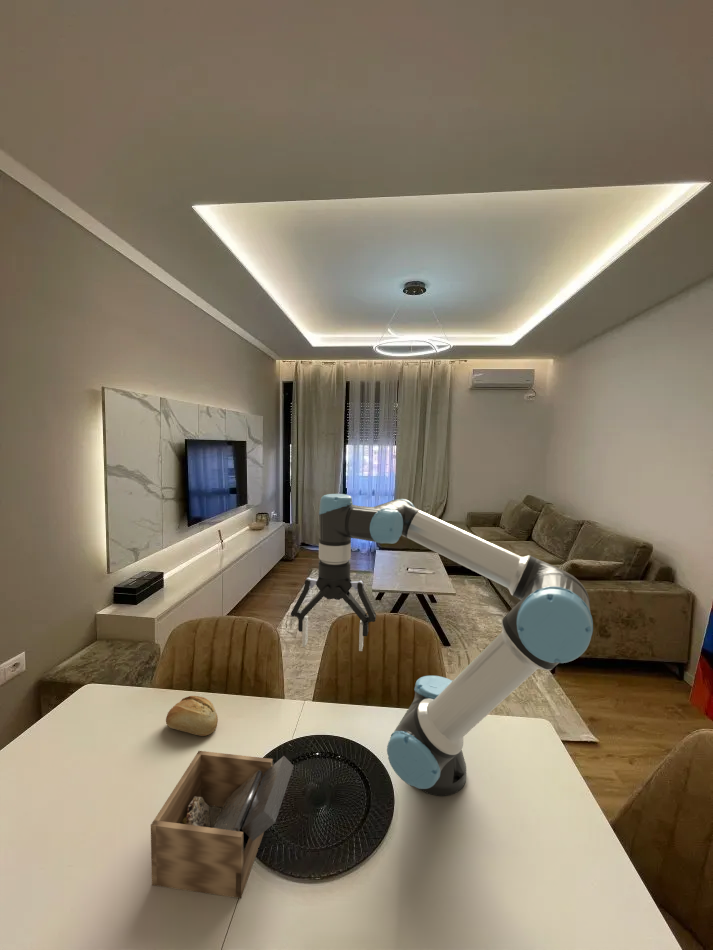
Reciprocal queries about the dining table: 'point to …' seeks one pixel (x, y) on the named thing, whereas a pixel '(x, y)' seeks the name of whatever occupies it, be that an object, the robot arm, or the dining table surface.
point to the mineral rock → (197, 813)
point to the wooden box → (204, 829)
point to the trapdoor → (256, 801)
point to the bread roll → (193, 716)
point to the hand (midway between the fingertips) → (332, 646)
